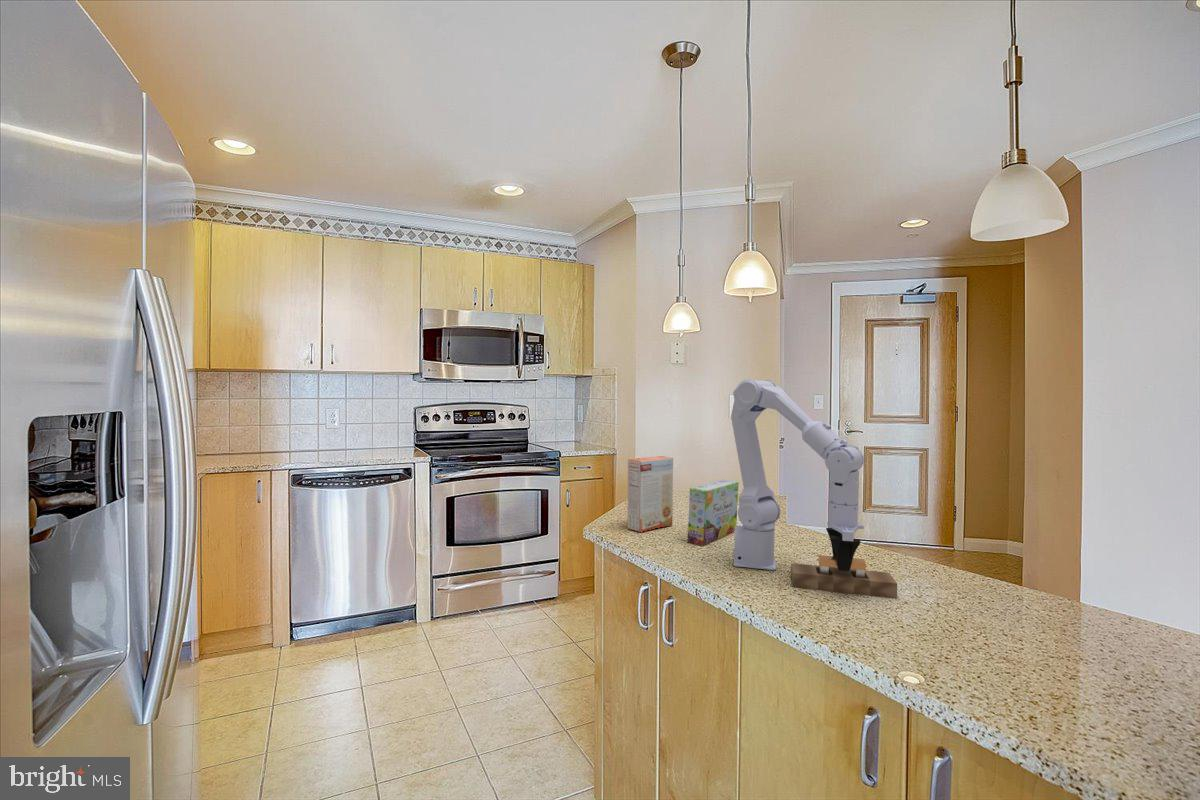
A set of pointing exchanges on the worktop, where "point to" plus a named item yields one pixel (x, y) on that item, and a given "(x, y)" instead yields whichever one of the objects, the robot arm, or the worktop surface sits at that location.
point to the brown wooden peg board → (843, 581)
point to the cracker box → (650, 493)
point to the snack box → (712, 511)
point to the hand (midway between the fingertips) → (841, 566)
